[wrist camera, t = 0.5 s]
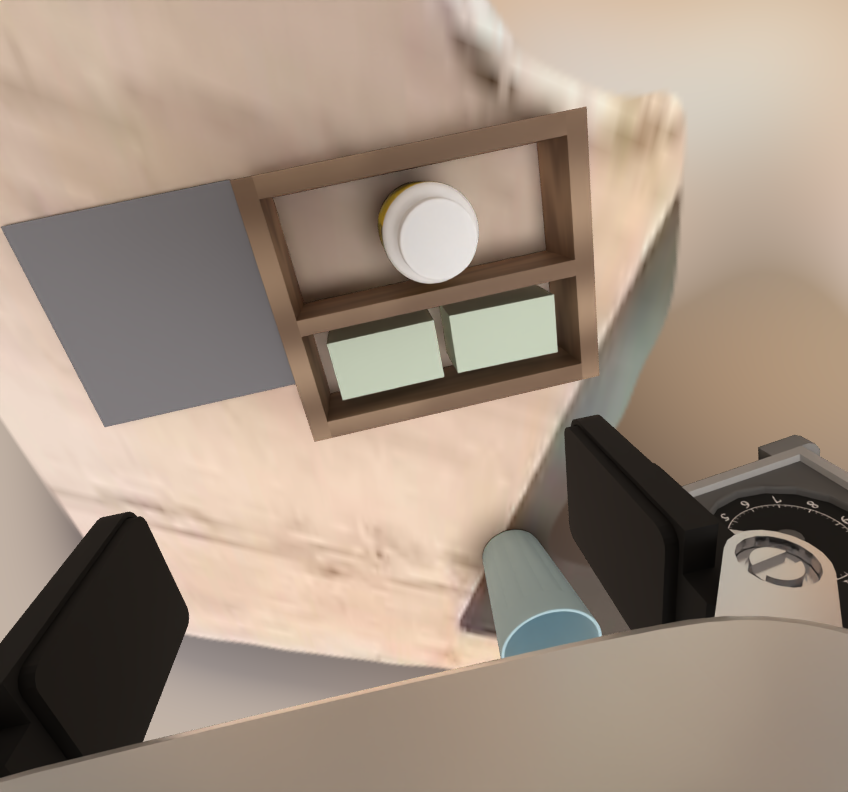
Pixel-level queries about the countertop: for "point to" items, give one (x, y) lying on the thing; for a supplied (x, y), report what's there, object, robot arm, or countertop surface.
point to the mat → (156, 301)
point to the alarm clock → (784, 497)
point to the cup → (532, 597)
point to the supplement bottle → (428, 231)
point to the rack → (558, 265)
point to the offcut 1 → (385, 354)
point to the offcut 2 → (500, 328)
